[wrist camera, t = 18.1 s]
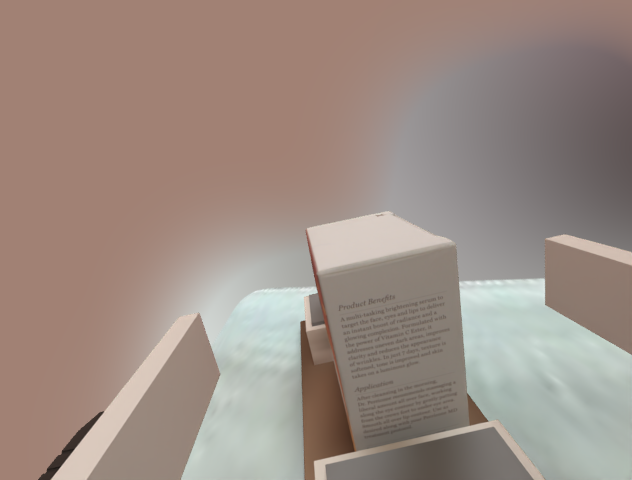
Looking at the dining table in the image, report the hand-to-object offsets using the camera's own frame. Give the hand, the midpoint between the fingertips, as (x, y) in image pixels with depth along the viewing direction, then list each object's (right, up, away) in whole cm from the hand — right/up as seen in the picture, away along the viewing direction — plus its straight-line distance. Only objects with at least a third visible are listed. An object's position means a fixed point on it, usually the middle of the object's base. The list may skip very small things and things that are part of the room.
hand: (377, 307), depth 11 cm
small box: (+2, -7, +7) cm, 10 cm away
